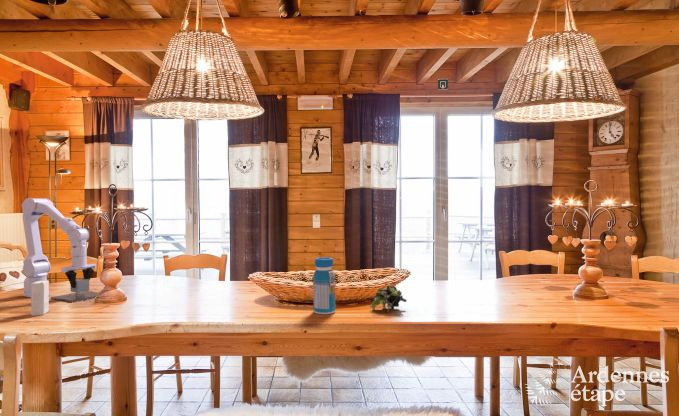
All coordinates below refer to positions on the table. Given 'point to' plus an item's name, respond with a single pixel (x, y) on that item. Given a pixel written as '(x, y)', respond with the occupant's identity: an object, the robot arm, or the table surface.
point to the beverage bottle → (324, 286)
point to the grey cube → (81, 285)
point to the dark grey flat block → (76, 296)
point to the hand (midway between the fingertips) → (79, 286)
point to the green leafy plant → (388, 297)
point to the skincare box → (39, 298)
